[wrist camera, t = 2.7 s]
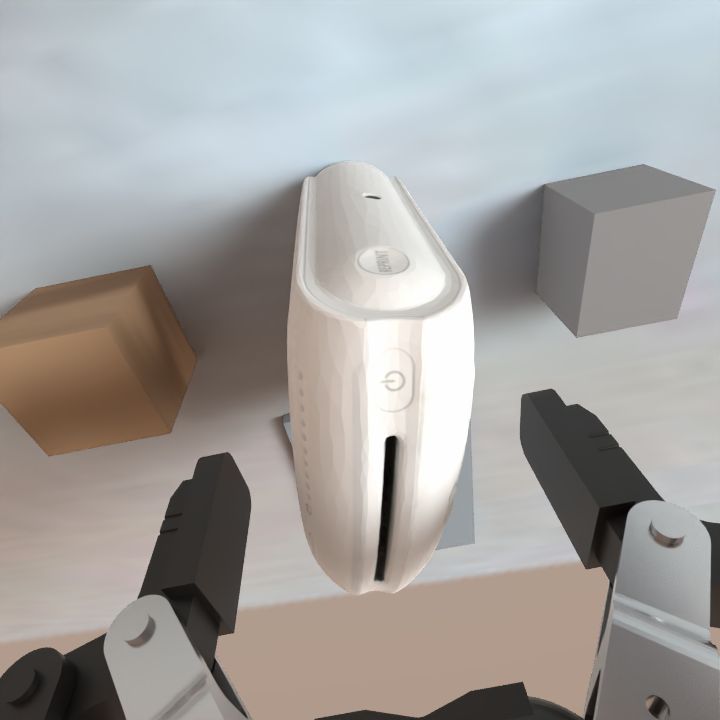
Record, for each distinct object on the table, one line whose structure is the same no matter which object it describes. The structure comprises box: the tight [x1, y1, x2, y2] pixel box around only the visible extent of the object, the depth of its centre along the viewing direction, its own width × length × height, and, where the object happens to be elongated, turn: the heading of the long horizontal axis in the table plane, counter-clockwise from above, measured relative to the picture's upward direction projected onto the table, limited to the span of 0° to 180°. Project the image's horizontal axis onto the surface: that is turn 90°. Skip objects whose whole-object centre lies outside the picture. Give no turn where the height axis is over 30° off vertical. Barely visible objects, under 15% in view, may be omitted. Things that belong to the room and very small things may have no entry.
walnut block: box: [0, 265, 197, 456], centre depth 18 cm, size 5×5×5 cm
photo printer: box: [287, 161, 475, 595], centre depth 14 cm, size 10×4×12 cm, turn 179°
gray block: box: [536, 164, 716, 338], centre depth 18 cm, size 5×4×4 cm
